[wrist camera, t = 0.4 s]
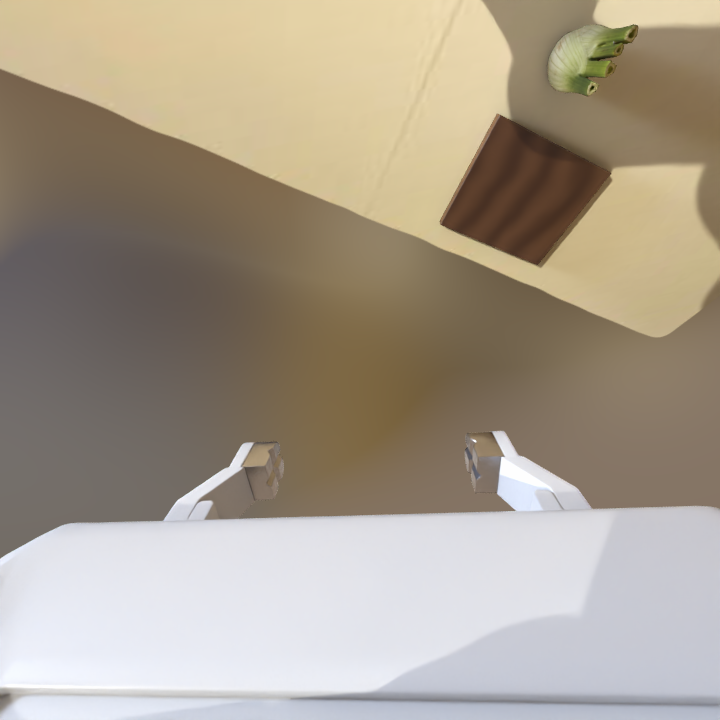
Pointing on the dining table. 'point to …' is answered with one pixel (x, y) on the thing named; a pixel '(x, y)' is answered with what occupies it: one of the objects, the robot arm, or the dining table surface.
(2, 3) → the dining table surface
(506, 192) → the cutting board
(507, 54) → the dining table surface
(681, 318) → the dining table surface
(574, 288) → the dining table surface
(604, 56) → the fennel bulb
